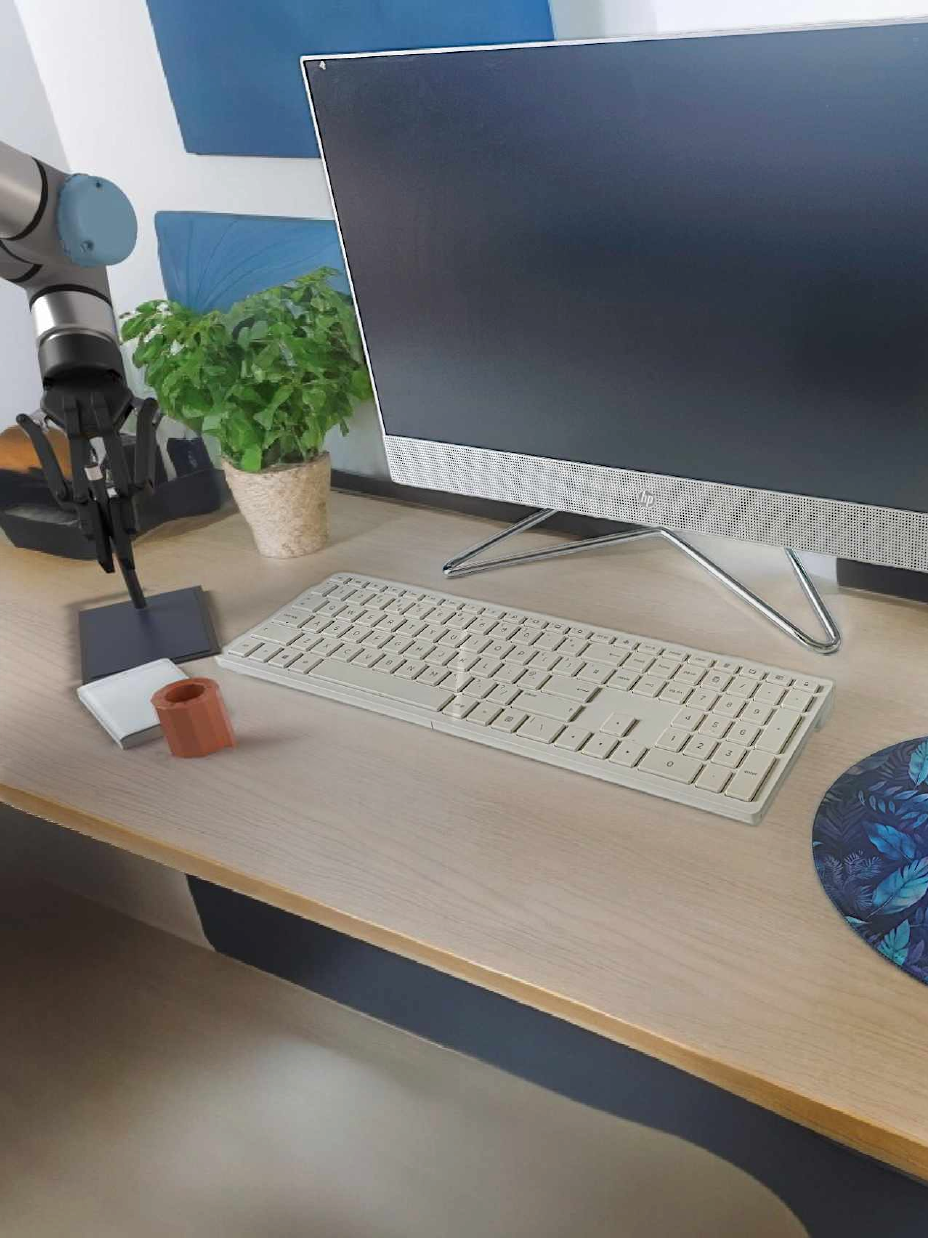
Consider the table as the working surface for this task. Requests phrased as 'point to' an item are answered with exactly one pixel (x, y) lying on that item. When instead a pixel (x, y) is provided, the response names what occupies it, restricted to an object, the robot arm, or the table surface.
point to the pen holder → (193, 718)
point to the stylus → (103, 503)
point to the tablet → (145, 633)
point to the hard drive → (130, 701)
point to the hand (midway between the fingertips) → (117, 565)
